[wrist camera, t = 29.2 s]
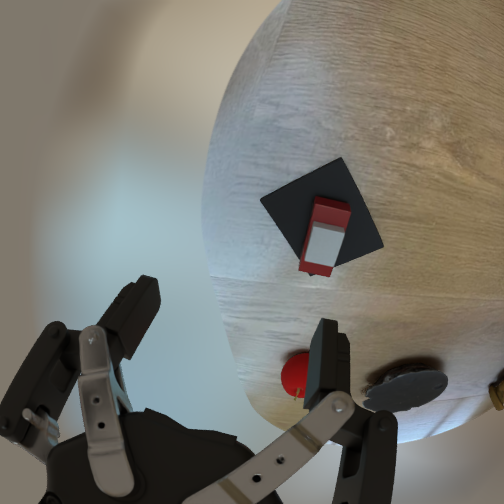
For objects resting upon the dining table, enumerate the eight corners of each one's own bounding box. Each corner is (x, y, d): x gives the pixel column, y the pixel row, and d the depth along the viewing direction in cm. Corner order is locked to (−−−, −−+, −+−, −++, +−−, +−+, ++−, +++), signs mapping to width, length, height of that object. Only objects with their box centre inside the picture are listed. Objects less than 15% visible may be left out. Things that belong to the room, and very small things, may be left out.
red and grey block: (296, 277, 36) (314, 208, 30) (299, 256, 39) (314, 192, 34) (330, 284, 35) (353, 217, 29) (330, 262, 39) (349, 200, 33)
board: (463, 356, 45) (467, 373, 41) (414, 400, 58) (416, 415, 54) (388, 346, 47) (391, 367, 43) (346, 394, 60) (346, 411, 56)
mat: (260, 198, 36) (259, 200, 36) (341, 156, 31) (341, 158, 30) (310, 274, 42) (310, 276, 41) (383, 244, 36) (384, 247, 36)
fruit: (291, 341, 52) (283, 385, 44) (333, 351, 51) (331, 394, 43) (279, 364, 57) (271, 403, 49) (317, 373, 57) (313, 412, 49)
